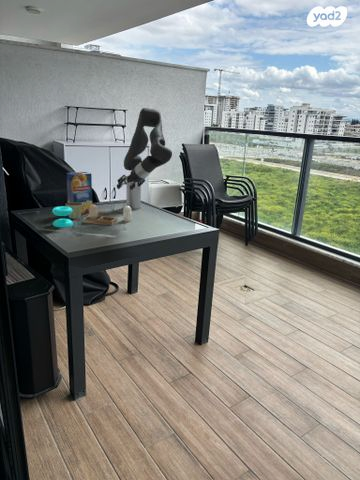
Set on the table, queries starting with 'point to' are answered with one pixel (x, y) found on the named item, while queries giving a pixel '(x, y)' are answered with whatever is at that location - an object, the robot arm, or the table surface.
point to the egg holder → (101, 220)
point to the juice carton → (80, 189)
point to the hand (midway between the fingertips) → (124, 188)
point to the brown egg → (93, 212)
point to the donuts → (62, 212)
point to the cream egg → (127, 213)
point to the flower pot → (75, 209)
